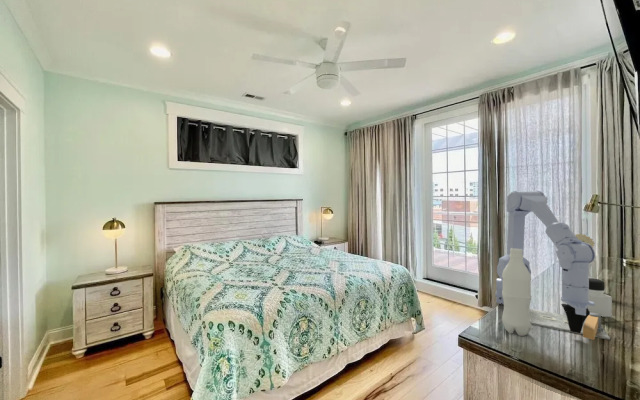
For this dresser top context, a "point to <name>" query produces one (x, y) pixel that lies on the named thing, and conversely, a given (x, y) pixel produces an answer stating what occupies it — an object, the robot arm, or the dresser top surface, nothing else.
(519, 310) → the water bottle
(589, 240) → the flower in vase
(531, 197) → the robot arm
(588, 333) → the tan piece
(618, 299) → the dresser top surface
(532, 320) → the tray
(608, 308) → the medicine bottle
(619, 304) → the dresser top surface
